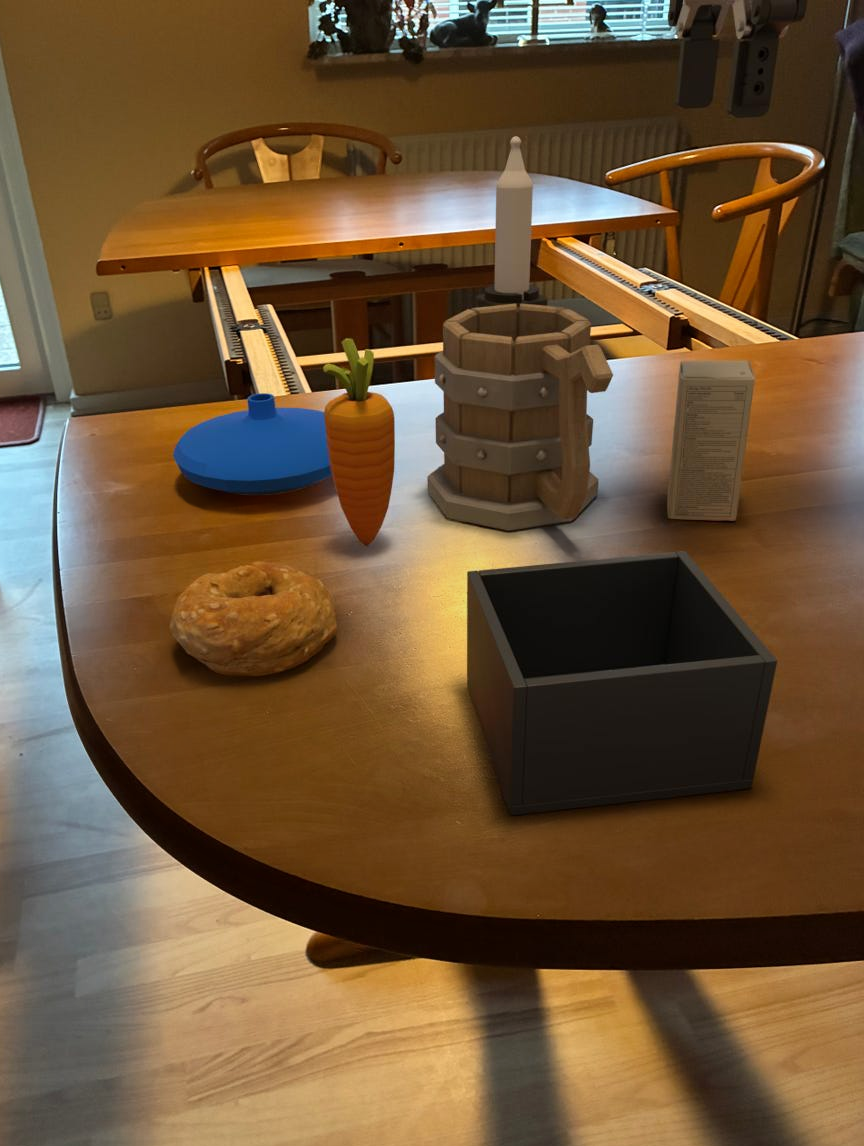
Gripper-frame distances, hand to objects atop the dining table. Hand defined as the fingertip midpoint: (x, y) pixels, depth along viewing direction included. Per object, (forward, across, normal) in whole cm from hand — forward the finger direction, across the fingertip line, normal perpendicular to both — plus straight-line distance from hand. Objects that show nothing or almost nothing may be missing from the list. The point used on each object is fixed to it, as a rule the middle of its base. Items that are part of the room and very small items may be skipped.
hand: (718, 112), depth 59 cm
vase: (+28, +16, +30) cm, 44 cm away
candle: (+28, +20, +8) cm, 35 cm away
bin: (+28, -24, +12) cm, 38 cm away
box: (+28, +2, -3) cm, 28 cm away
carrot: (+28, +1, +23) cm, 36 cm away
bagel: (+28, -11, +30) cm, 43 cm away
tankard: (+28, +4, +10) cm, 30 cm away
